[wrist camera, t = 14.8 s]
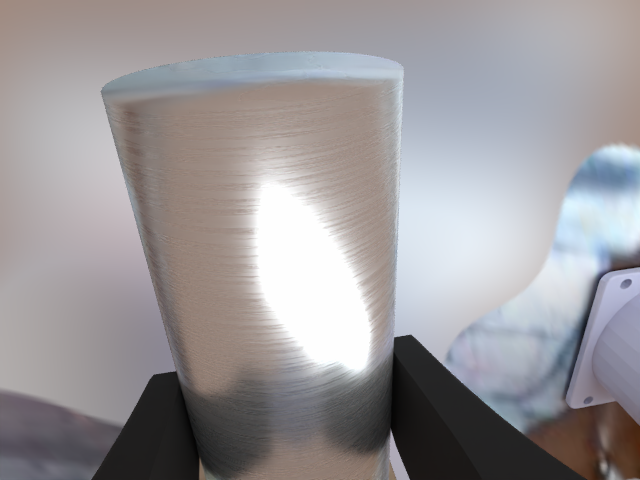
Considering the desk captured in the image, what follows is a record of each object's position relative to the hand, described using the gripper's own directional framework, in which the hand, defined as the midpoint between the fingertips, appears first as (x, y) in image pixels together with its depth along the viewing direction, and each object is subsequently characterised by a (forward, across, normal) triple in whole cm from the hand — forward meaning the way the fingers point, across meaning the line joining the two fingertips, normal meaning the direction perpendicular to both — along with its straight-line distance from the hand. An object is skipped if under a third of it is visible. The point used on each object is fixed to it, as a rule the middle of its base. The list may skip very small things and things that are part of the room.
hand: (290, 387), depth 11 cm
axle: (+2, 0, 0) cm, 2 cm away
